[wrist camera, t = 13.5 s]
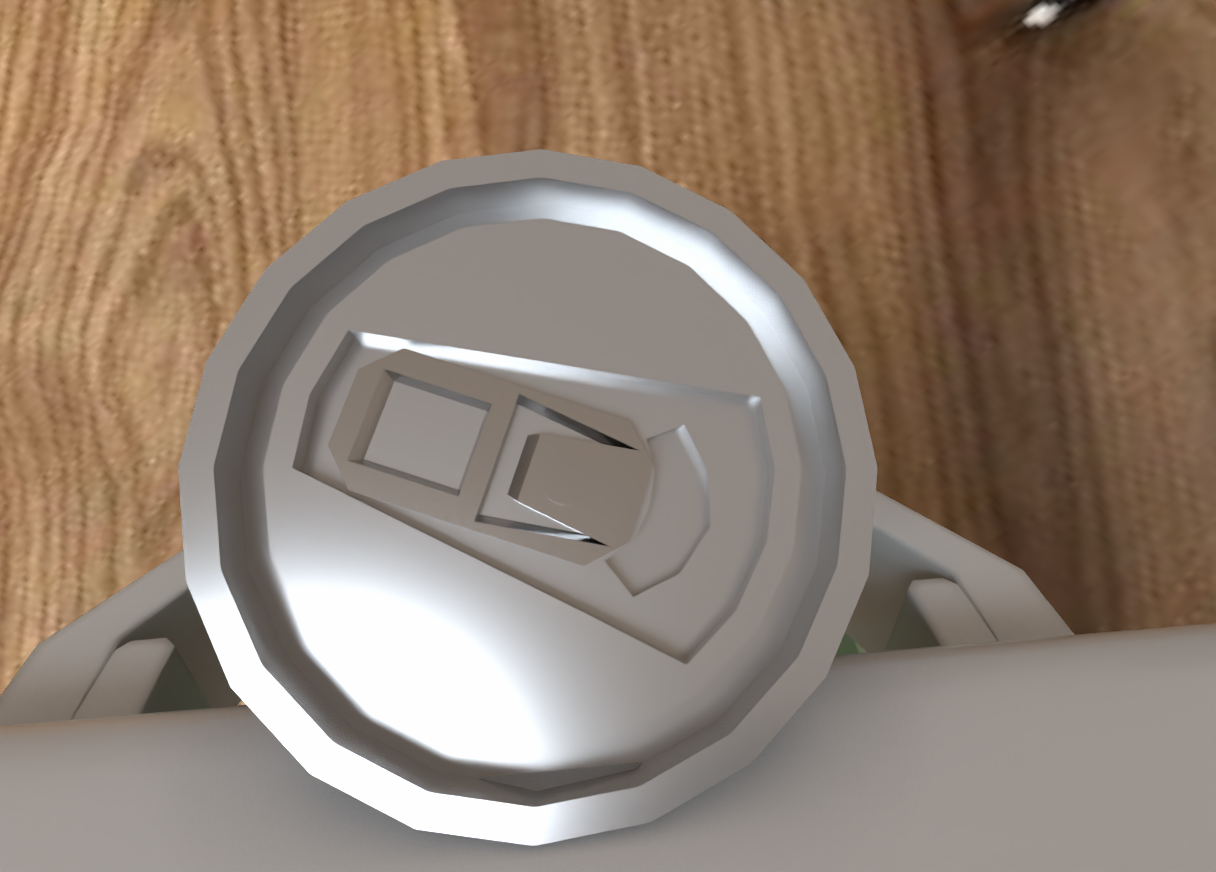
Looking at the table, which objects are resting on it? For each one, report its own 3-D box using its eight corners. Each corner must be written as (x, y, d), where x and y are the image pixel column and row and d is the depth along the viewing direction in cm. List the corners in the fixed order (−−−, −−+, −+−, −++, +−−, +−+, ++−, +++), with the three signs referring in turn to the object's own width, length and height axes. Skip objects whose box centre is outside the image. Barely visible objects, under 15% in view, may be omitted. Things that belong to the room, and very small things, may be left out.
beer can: (417, 599, 16) (1, 737, 4) (492, 390, 17) (319, 31, 5) (630, 668, 16) (803, 996, 4) (694, 456, 17) (977, 248, 5)
